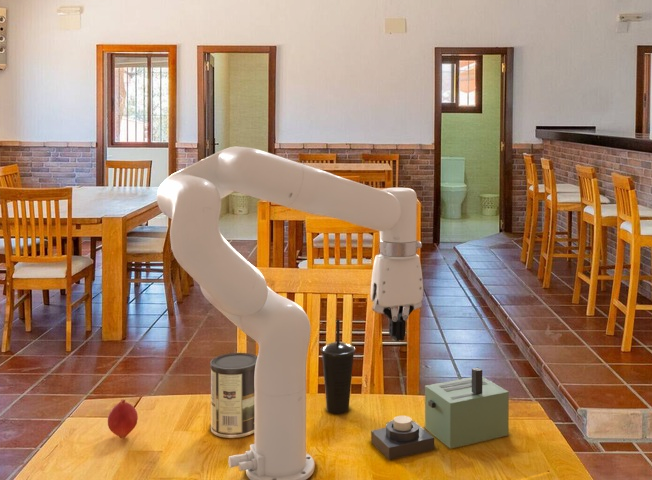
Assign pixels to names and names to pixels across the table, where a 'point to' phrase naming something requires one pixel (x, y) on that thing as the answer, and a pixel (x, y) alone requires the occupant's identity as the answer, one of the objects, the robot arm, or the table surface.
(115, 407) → the onion
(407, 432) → the control block
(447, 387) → the toaster
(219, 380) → the coffee can
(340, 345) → the drinking cup
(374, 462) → the table surface
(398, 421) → the button
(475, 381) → the slider
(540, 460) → the table surface
